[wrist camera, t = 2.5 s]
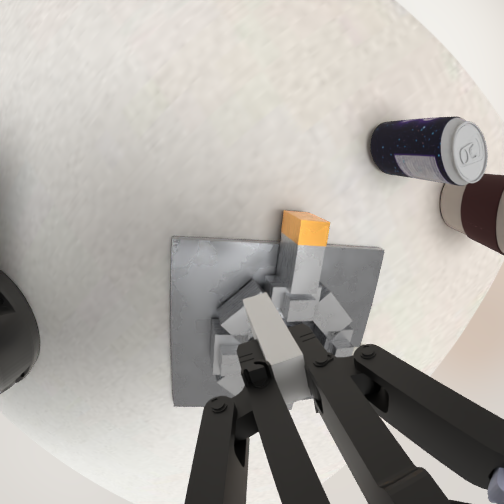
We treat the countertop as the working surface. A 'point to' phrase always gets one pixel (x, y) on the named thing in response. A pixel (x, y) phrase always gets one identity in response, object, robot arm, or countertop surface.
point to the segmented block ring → (284, 300)
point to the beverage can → (431, 149)
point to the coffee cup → (477, 210)
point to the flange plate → (232, 281)
